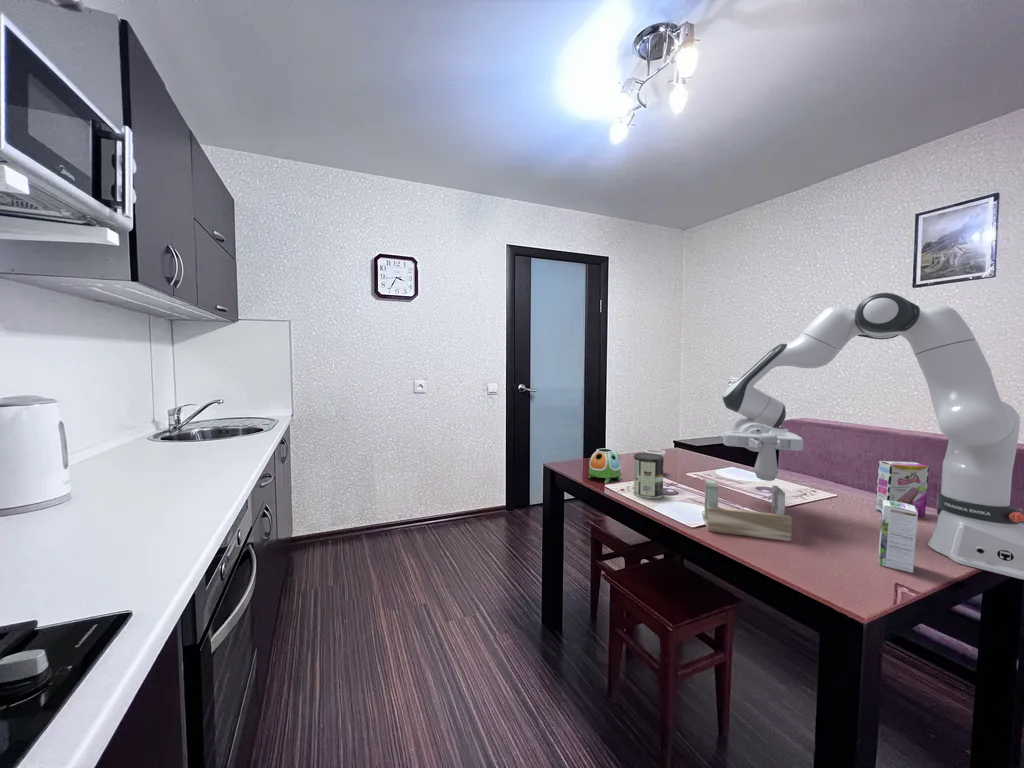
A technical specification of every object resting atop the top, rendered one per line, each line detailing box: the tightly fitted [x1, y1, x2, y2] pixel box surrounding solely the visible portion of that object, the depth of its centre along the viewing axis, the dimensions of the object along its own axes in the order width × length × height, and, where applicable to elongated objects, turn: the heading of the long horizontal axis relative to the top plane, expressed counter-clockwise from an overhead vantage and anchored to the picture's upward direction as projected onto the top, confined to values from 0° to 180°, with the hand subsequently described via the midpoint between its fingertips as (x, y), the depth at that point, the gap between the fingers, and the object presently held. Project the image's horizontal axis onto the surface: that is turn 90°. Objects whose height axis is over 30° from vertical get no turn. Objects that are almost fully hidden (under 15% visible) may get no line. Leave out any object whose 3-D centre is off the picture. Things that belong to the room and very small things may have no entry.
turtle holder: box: [588, 447, 622, 484], centre depth 162 cm, size 12×18×12 cm
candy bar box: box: [874, 460, 930, 518], centre depth 124 cm, size 11×5×16 cm, turn 84°
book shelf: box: [701, 479, 793, 542], centre depth 113 cm, size 12×20×12 cm, turn 72°
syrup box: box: [878, 500, 919, 574], centre depth 92 cm, size 6×6×14 cm
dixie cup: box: [644, 448, 666, 464], centre depth 168 cm, size 8×8×10 cm
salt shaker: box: [753, 433, 779, 482], centre depth 111 cm, size 6×6×13 cm
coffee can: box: [632, 452, 665, 500], centre depth 141 cm, size 10×10×14 cm
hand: (768, 446), depth 110 cm, fingers closed on salt shaker, 3 cm apart
